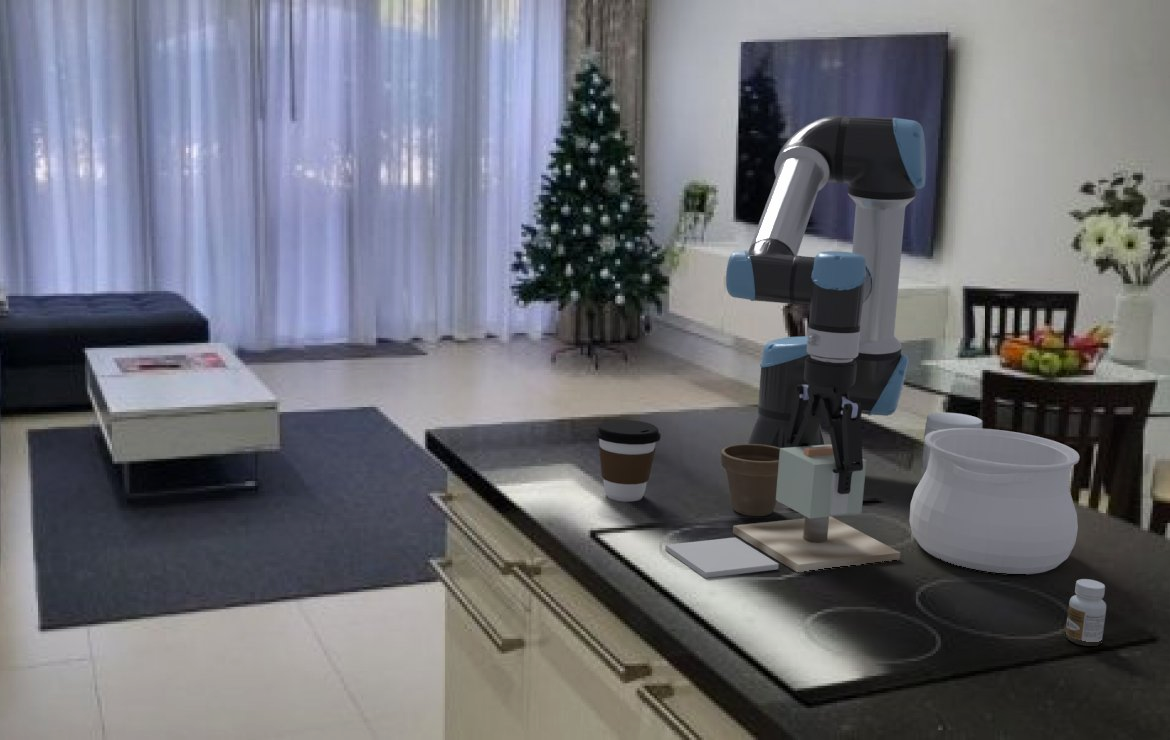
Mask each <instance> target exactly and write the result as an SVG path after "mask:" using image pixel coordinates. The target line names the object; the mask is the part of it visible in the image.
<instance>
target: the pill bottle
mask: <svg viewBox="0 0 1170 740" xmlns="http://www.w3.org/2000/svg"><path fill="white" fill-rule="evenodd" d="M1075 582H1076V583H1075V588H1074V589H1075V590H1074V593H1075V594H1074V595H1072V596H1071V597H1070V599H1069V601H1068V602H1069V604H1068V610H1067V618H1066V625H1065V632H1066V634H1067V635H1068V636H1070V637H1072V638H1074V639H1078V640H1082V641H1086V642H1099V641H1101V640H1102V641H1103V636H1104V635H1103V634H1104V628H1105V620H1106V612H1107V603H1106V602H1105V601H1104V600H1103V598H1104V596H1105V591H1106V586H1105V584H1104V583H1102V582H1100V581H1099V580H1098V581H1097V580H1095V579H1088V578H1081V579H1078V580H1076V581H1075Z"/></svg>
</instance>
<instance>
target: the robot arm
mask: <svg viewBox="0 0 1170 740" xmlns="http://www.w3.org/2000/svg"><path fill="white" fill-rule="evenodd" d="M925 138H926V137H925V132H924V129H923V125H921V123H920V122H918V121H917V120H912V119H905V118H897V117H876V116H874V117H873V116H845V115H830V116H825V117H822V118H819V119H816V120H814V121H812V122H811V123H808V124H806V125H804V127H802V128H801V129H799V130H797V131H796V132H795V133H794V134H793V135H792V136H791V137H790V138H788V139H787V141H786V142H785V143H784V145H783V146H782V147H781V149H780V150H779V153H778V155H777V158H776V160H775V163H774V169H773V170H774V174H775V175H774V176H775V179H774V182H773V185H772V188H771V190H770V193H769V196H768V198H767V201H766V203H765V206H764V209H763V212H762V214H761V217H760V220H759V222H758V225H757V227H756V230H755V233H754V235H753V238H752V241H751V243H750V246H749V249H745V250H735V251H733V252H732V253H731V254H730V255H729V257H728V260H727V265H726V266H727V267H726V271H725V272H726V273H725V286H726V287H725V288H726V292H727V293H728V295H730V297H732V298H736V299H743V300H749V301H751V302H754V301H755V302H765V303H766V302H769V303H777V304H779V303H780V304H790V305H791V304H792V305H801V306H808V307H809V322H808V324H807V325H808V329H807V331H808V332H807V336H790V337H787V336H786V337H780V338H776V339H773V340H770V341H768V342H767V343H766V344H765V345H764V346H763V350H762V356H761V363H760V375H759V378H760V379H759V389H758V390H759V392H758V403H757V404H758V407H757V415H756V419H755V422H754V423H753V425H752V428H751V431H750V434H749V436H748V439H747V440H746V442H745V444H760V445H768V446H774V447H778V448H790V447H802V446H815V445H825V441H824V436H823V433H822V429H821V424H822V421H824V426H825V427H826V428H827V429H828V432H829V433H828V434H829V437H830V441H831V445H832V448H833V453H834V458H835V464H836V469H834V470H833V471H832V482H831V493H830V504H829V514H831V515H834V514H844V513H847V505H848V495H849V493H850V488H851V478H852V473H853V472H854V471H861V470H862V469H863V459H864V458H863V442H862V440H863V439H862V425H861V424H862V423H861V418H862V415H868V416H883V417H886V416H887V417H888V416H891V415H893V414H894V413H895V412H896V410H897V407H898V404H899V401H900V397H901V394H902V390H903V386H904V383H905V380H906V379H905V378H906V373H907V370H908V366H909V358H910V357H909V355H906V354H905V353H902V343H901V342H900V341H899V339H898V338H897V337H896V336H895V327H896V315H897V306H898V305H897V304H898V295H899V283H900V282H899V281H900V274H901V272H900V271H901V270H900V269H901V262H902V261H901V259H902V249H903V236H904V226H905V213H906V207H907V206H908V205H909V204H910V203H911V202H912V201H914V199H916V191H917V190H920V189H922V188H924V187H925V185H926V178H927V177H926V174H927V172H926V170H927V169H926V168H927V156H926V155H927V153H926V152H927V151H926V141H925ZM827 183H838V184H848V190H847V196H849V197H850V199H852V201H853V202H854V203H855V210H854V211H855V213H854V228H853V239H852V251H851V252H849V251H835V250H834V251H833V250H832V251H831V250H828V251H820V252H818V253H817V254H816V255H815V256H804V255H798V254H799V251H800V248H801V245H802V242H803V239H804V235H805V232H806V230H807V228H808V227H807V226H808V223H809V220H810V217H811V214H812V211H813V208H814V206H815V202H816V199H817V196H818V193H819V191H821V190H822V189H823V188H824V187H825V186H826V184H827ZM843 462H844V464H843ZM854 462H855V463H854Z"/></svg>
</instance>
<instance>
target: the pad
mask: <svg viewBox="0 0 1170 740" xmlns="http://www.w3.org/2000/svg"><path fill="white" fill-rule="evenodd" d="M664 548H665V549H664V550H665V551H666V552H667V553H669V554H671V555H672V556H674V557H675V558H676V559H678V560H679V561H680V562H682V563H683V564H684V565H686V566H688V567H689V568H691V569H692V570H693V571H695V572H696V573H697V574H699V575H700V576H702V577H703V578H705V579H708V578H716V577H725V576H735V575H741V574H743V575H744V574H752V573H759V572H766V571H767V572H768V571H774V570H776V571H777V570H779V563H778V562H776V561H775V560H773V559H771V558H770V557H768V556H766V555H765V554H763V553H761V552H760V551H758V550H757V549H755V548H753V547H752V546H750V545H749V544H746V543H745V541H742V540H741V539H740V538H737V537H727V538H717V539H709V540H697V541H688V542H680V543H679V542H678V543H670V544H665V546H664Z"/></svg>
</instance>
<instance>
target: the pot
mask: <svg viewBox="0 0 1170 740" xmlns="http://www.w3.org/2000/svg"><path fill="white" fill-rule="evenodd" d="M924 442H925V444H926V445H927V446H928V447H930V456H929V462H928V467H927V470H926V472H925V474H924V475H923V477H922V479H921V478H920V480H921V481H918V482H919V483H918V484H917V486H916V487H915V489H914V492H913V495H912V499H911V501H910V509H909V525H910V529H911V533H912V536H913V538H914V539H915V540H916V541H917V543H918V544H919V546H920V547H921V548H922V549H923V550H924V551H925V552H926V553H928V554H929V555H931V556H933V557H934V558H936V559H939V560H940V559H941V561H943V562H945V563H947V562H948V563H947V564H950V563H951V565H953V564H954V566H956V565H957V567H959V566H962V567H961V568H963V567H966V568H965V569H967V568H971V569H976V570H982V571H987V572H986V573H988V572H996V573H1007V574H1026V575H1036V574H1041V573H1046V572H1049V571H1051V570H1053V569H1056V568H1057V567H1058V566H1060V565H1061V564H1062V563H1064V561H1066V560H1067V559H1068V558H1069V556H1070V555H1071V553H1072V550H1073V549H1074V547H1075V545H1076V541H1077V534H1078V531H1079V526H1078V525H1079V524H1078V523H1079V522H1078V514H1077V510H1076V507H1075V505H1074V500H1073V497H1072V495H1071V494H1072V493H1071V490H1070V482H1071V481H1070V479H1071V478H1070V476H1071V471H1072V470H1071V469H1072V466H1074V465H1076V464H1078V463H1079V461H1080V458H1081V457H1080V454H1079V453H1078V451H1076V450H1075V449H1073V448H1072V447H1070V446H1068V445H1066V444H1063V443H1060V442H1058V441H1055V440H1052V439H1049V438H1044V437H1040V436H1038V435H1037V436H1036V435H1032V434H1027V433H1023V432H1015V431H1009V430H1002V429H1001V430H1000V429H992V428H982V429H980V428H951V429H942V430H937V431H933V432H930V433H928V434H927V435H926V436H925V441H924V440H923V443H924ZM971 569H970V570H971ZM976 570H975V571H976ZM1007 574H1006V575H1007Z"/></svg>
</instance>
